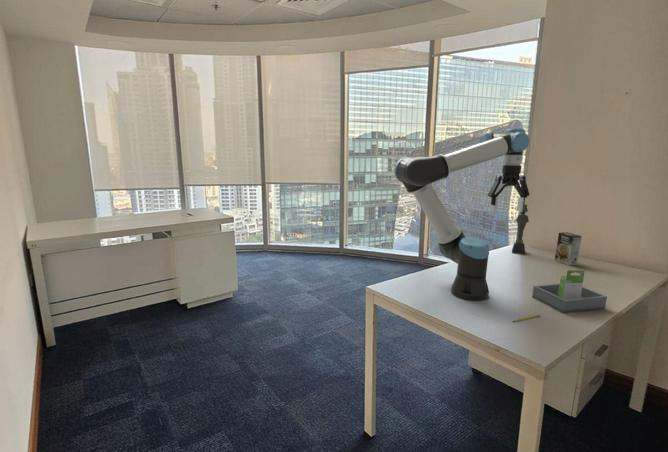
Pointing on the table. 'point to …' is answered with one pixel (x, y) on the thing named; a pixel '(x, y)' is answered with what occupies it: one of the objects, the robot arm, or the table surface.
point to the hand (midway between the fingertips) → (506, 211)
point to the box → (584, 303)
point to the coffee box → (568, 248)
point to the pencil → (526, 318)
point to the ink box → (571, 285)
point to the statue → (520, 232)
